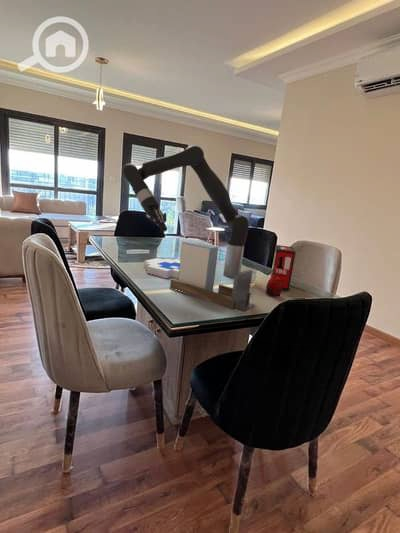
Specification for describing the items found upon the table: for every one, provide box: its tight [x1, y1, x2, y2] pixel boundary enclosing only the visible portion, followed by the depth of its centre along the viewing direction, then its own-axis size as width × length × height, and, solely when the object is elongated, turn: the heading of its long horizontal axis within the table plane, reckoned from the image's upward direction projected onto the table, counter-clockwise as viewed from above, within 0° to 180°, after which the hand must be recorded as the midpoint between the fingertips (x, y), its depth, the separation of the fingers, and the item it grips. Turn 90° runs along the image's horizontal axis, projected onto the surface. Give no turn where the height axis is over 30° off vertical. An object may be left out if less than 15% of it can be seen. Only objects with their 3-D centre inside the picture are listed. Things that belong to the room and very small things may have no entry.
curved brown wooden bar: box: [169, 278, 252, 310], centre depth 137 cm, size 12×33×4 cm, turn 56°
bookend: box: [229, 269, 256, 313], centre depth 126 cm, size 13×6×14 cm, turn 146°
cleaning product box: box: [269, 244, 297, 292], centre depth 163 cm, size 16×9×20 cm, turn 168°
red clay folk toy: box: [265, 266, 282, 298], centre depth 146 cm, size 8×7×15 cm
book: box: [177, 240, 219, 292], centre depth 139 cm, size 6×15×21 cm, turn 56°
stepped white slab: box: [143, 257, 180, 279], centre depth 170 cm, size 28×4×28 cm
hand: (165, 230), depth 146 cm, fingers closed
